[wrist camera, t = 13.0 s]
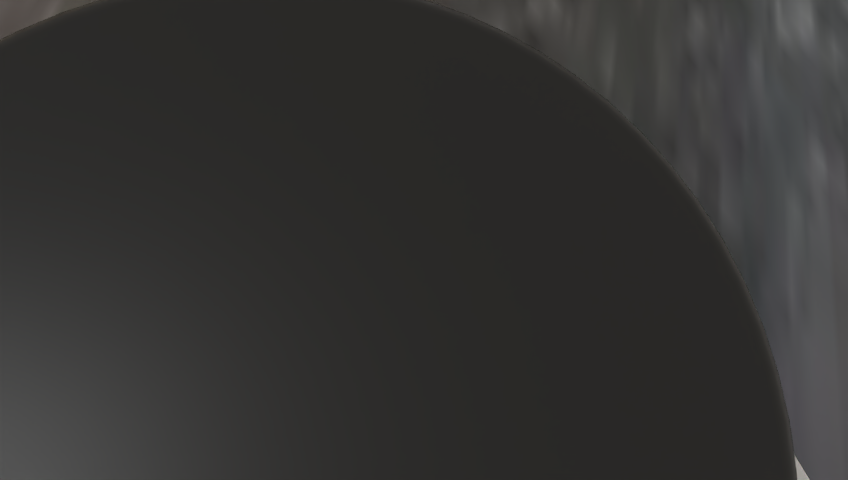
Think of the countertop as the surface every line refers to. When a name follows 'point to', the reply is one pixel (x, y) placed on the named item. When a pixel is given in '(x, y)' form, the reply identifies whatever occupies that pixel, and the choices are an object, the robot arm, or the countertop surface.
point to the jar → (354, 260)
